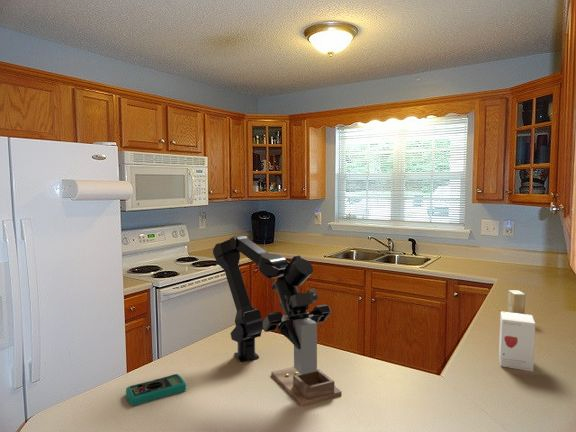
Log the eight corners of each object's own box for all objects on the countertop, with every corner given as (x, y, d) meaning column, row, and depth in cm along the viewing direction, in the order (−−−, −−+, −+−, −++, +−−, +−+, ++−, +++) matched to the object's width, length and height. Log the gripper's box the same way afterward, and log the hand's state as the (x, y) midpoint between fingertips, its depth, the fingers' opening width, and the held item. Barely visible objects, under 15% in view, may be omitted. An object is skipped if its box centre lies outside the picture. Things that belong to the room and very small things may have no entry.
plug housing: (294, 367, 108) (293, 320, 107) (308, 364, 110) (308, 317, 109) (301, 374, 104) (301, 325, 103) (316, 371, 106) (316, 322, 105)
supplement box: (499, 366, 124) (501, 318, 123) (498, 355, 132) (499, 310, 131) (534, 372, 120) (536, 323, 119) (530, 360, 128) (532, 314, 127)
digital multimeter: (124, 396, 109) (123, 385, 108) (178, 381, 117) (178, 371, 116) (130, 409, 102) (129, 397, 102) (187, 392, 110) (186, 382, 110)
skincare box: (506, 318, 168) (507, 289, 168) (518, 318, 168) (519, 290, 167) (513, 323, 162) (514, 293, 161) (524, 324, 162) (525, 294, 161)
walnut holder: (271, 375, 119) (271, 361, 119) (306, 366, 125) (306, 354, 124) (301, 406, 102) (301, 390, 102) (341, 395, 108) (341, 380, 107)
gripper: (266, 283, 105) (284, 339, 96) (327, 276, 113) (350, 326, 104) (255, 305, 113) (271, 358, 104) (314, 296, 121) (333, 345, 112)
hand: (307, 347), depth 106 cm, fingers closed on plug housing, 4 cm apart
